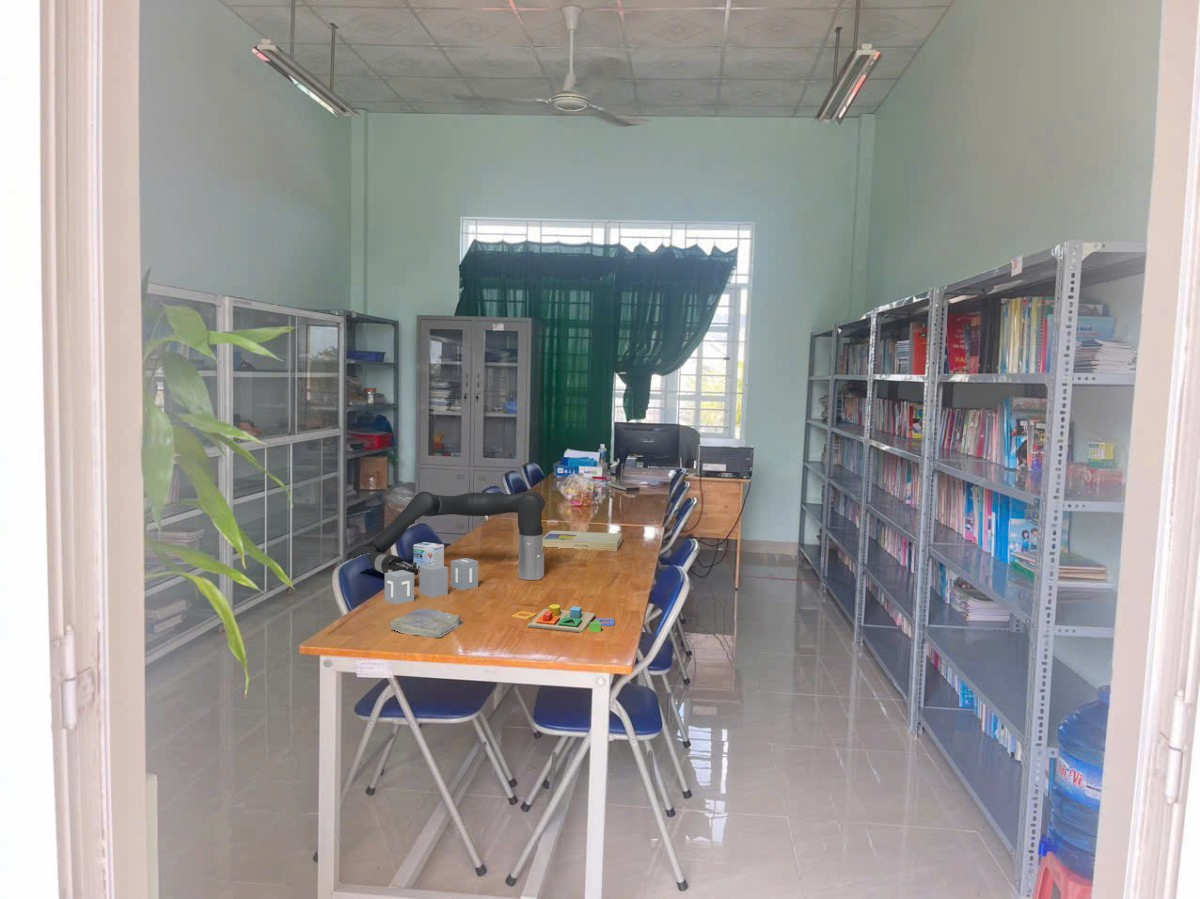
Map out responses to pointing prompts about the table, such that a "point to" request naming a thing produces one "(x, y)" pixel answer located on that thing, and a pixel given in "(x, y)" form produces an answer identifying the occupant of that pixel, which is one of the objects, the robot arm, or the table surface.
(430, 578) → the plain block
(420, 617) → the fossil
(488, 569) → the table surface
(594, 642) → the table surface
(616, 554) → the table surface
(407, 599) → the block marked 7
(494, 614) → the table surface
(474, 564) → the block marked 1
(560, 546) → the puzzle box
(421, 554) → the light bulb box
